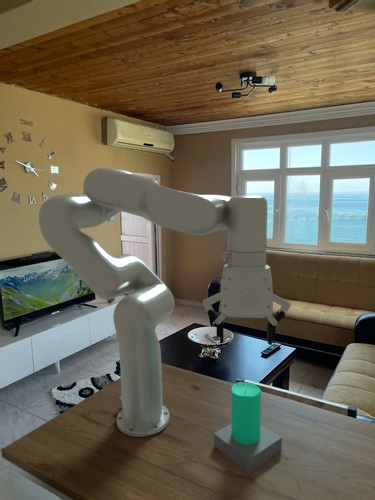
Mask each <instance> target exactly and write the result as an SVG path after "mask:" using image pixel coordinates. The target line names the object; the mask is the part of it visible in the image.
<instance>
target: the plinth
mask: <svg viewBox="0 0 375 500" xmlns="http://www.w3.org/2000/svg"><path fill="white" fill-rule="evenodd" d="M282 442H283V437H282V436H280V435H279V434H277V433H275V432H274V431H272V430H271V429H270V428H267V427H266V426H264V425H262V424H260V439H259V441H258V442H256V443H254V444H246V445H245V444H242V443H238V442H237V441H236V440H235V439H233V436H232V422H231V423H230V424H228V425H226V426H225V427H223V428H221V429H219V430H217V431H216V432H214V433H213V447H214V448H216V449H217V450H218V451H219V452H221V453H222V454H223V455H225V456H226V457H227V458H229V459H230V460H231V461H232V462H233V463H235V464H236V465H237V466H238V467H240V468H241V469H243V470H244V472H246V473H247V474H250V473H253V471H255V470H257V469H258V468H259V467H260V466H262V465H263V464H264V463H266V462H268V461H269V460H270V459H272V458H273V457H275V456H276V455H277V454H279V453H280V452H282V450H283V449H282V448H283V447H282V445H283V443H282Z"/></svg>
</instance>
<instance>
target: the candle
mask: <svg viewBox="0 0 375 500" xmlns="http://www.w3.org/2000/svg"><path fill="white" fill-rule="evenodd" d="M230 390H231V393H230V394H231V399H230V400H231V423H232V436H233V439H235V440H236V441H237V442H238V443H242V444H245V445H246V444H254V443H256V442H258V441H259V439H260V424H261V420H262V419H261V415H262V414H261V412H262V411H261V409H262V408H261V406H262V405H261V404H262V403H261V397H262V396H261V395H262V390H261V389H260V387H258V386H257V385H256V384H255V383H254V382H253V383H252V382H243V381H238V382H236V383H234V384H233V385H232V386H231V389H230ZM261 425H262V424H261Z"/></svg>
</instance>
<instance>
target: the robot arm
mask: <svg viewBox="0 0 375 500" xmlns="http://www.w3.org/2000/svg"><path fill="white" fill-rule="evenodd" d="M82 188H83V191H84V193H80V194H79V193H73V194H71V193H70V194H69V193H68V194H66V193H64V194H59V195H53V196H51V197H50V198H47V199H46V200H45V201H44V202H43V203H42V204H41V207H40V208H39V212H38V224H39V229H40V232H41V234H42V237H43V239H44V240H45V242H46V243H47V245H48V246H49V247H50V248H51V249H52V250H53V251H54V252H55V253H56V254H57V255H58V256H59V257H60V258H62V259H63V261H64V262H66V263H67V264H68V265H69V266H70V267H71V269H72V270H73V271H74V272H75V273H76V274H77V275H78V277H79V278H80V279H81V280H82V281H83V282H84V283H85V285H87V287H88V288H89V289H90V290H91V291H92V292H93V293H94V294H95V295H96V296H97V297H98V298H100V299H102V300H105V301H106V300H107V301H108V300H112V299H115V298H118V297H121V296H122V295H125V294H127V295H126V296H124V297H123V298H121V299H120V300H119V302H117V304H116V305H115V308H114V310H113V313H112V314H113V315H112V316H113V319H112V321H113V324H114V329H115V333H116V337H117V341H118V351H119V364H120V365H119V367H120V381H121V395H120V396H119V399H120V400H121V403H122V409H121V410H120V411H118V414H117V417H116V426H117V428H118V430H119V431H120V432H121V433H122V434H124V435H127V436H130V437H135V438H136V437H138V438H139V437H140V438H142V437H149V436H153V435H155V434H158V433H159V432H161V431H163V430H164V429H165V428H166V427H167V426H168V424H169V422H170V418H171V417H170V411H169V409H168V407H166V406H165V405H163V402H164V401H163V379H162V376H163V375H162V374H163V373H162V354H161V353H162V352H161V344H160V341H159V338H158V336H157V333H156V328H157V327H158V326H159V325H160V324H161V323H163V322H164V321H165V320H166V319H168V317H170V316H171V315H172V313H173V312H174V309H175V297H174V295H173V293H172V291H171V290H170V288H169V287H168V286H167V285H166V284H165V282H163V281H162V279H160V277H159V276H158V275H157V274H155V272H154V271H153V270H152V269H151V268H150V267H149V266H148V265H147V264H146V263H145V262H144V261H143V260H142V259H141V258H140V257H138V256H136V255H133V254H130V253H129V254H128V253H123V254H119V255H111V254H110V253H108V251H106V250H105V249H104V248H103V247H102V246H101V244H100V243H99V242H97V241H96V239H94V238H93V237H91V236H89V235H88V234H86V233H85V232H83V231H82V230H83V229H88V228H95V227H97V226H100V225H102V224H104V223H106V222H108V220H110V219H112V218H113V217H114V216H116V215H117V214H119V213H120V212H122V213H127V214H130V215H134V216H138V217H141V218H144V219H145V220H147V221H149V222H150V223H153V224H154V225H156V226H159V227H162V228H165V229H169V230H172V231H176V232H180V233H183V234H188V235H190V236H191V235H192V236H205V235H207V234H211V233H215V232H219V231H224V230H227V250H226V251H225V252H220V253H219V257H220V258H219V259H220V260H221V261H225V262H226V263H225V264H224V265H223V269H222V273H221V274H222V275H221V284H220V291H219V292H217V293H215V294H214V295H211V296H210V297H207V298H205V299H203V301H202V305H203V307H204V309H205V311H206V312H207V315H208V316H209V317H210V318H211V319H212V320H213V321H214V323H215V324H216V338H219V343H220V344H223V343H224V327H225V326H224V325H225V323H224V321H225V319H226V318H241V319H242V318H243V319H267V321H266V341H267V344H268V345H269V346H271V345H273V340H276V330H277V329H276V328H277V327H276V326H277V325H278V323H279V322H280V321H281V320H283V319H284V318H285V317H286V314H287V313H288V311H289V310H290V307H291V303H290V302H289V300H286V299H284V298H283V297H280V296H279V295H277V294H274V292H273V277H272V270H271V266H269V265H268V264H267V239H268V236H267V233H268V201H267V198H265V196H262V195H235V196H229V195H228V196H227V195H221V194H197V193H192V192H186V191H181V190H177V189H173V188H169V187H166V186H163V185H161V184H159V182H158V181H157V180H156V179H154V178H152V177H148V176H143V175H138V174H133V173H132V172H130V171H129V170H126V169H120V168H110V167H109V168H108V167H99V168H96V169H93V170H91V171H90V172H88V173H87V175H86V176H85V178H84V180H83V184H82ZM81 229H82V230H81ZM219 301H220V302H219ZM217 302H219V303H220V307H219V308H220V310H219V311H218V312H217V311H216V310H215V309H214V308H213V307H212V305H214V304H215V303H217ZM274 303H276V304H278V305H279V306H280V307H279V309H278V310H277V311H276V312H275V313H273V310H274Z"/></svg>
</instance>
